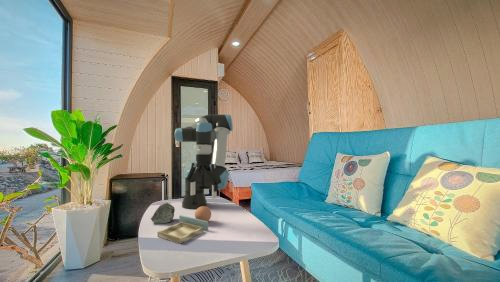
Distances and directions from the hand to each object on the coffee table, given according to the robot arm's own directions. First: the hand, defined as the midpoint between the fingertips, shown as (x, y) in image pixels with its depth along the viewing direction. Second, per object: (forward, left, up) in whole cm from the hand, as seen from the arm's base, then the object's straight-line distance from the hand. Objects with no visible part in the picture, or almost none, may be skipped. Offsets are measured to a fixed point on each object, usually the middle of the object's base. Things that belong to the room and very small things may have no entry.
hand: (203, 196), depth 108 cm
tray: (+15, +1, -13) cm, 20 cm away
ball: (0, 0, -13) cm, 13 cm away
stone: (+8, -18, -13) cm, 24 cm away
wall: (+7, 0, -13) cm, 15 cm away
